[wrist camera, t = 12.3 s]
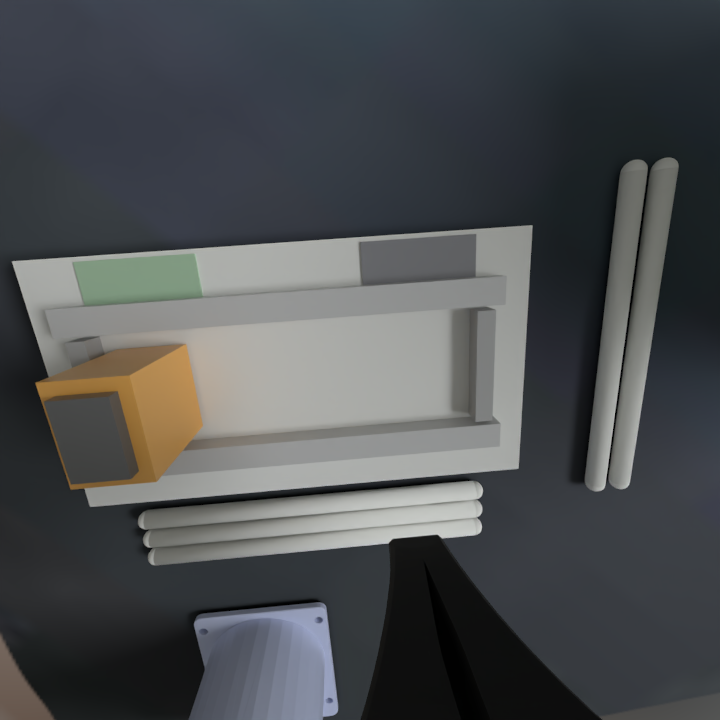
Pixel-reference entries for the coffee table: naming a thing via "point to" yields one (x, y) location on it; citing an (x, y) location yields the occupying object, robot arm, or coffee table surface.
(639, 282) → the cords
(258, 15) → the coffee table surface
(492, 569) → the coffee table surface
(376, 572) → the coffee table surface
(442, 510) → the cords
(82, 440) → the lever
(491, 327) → the white flat tray
